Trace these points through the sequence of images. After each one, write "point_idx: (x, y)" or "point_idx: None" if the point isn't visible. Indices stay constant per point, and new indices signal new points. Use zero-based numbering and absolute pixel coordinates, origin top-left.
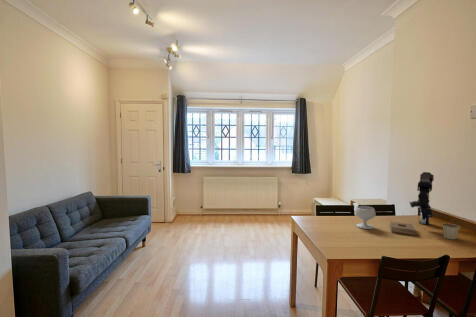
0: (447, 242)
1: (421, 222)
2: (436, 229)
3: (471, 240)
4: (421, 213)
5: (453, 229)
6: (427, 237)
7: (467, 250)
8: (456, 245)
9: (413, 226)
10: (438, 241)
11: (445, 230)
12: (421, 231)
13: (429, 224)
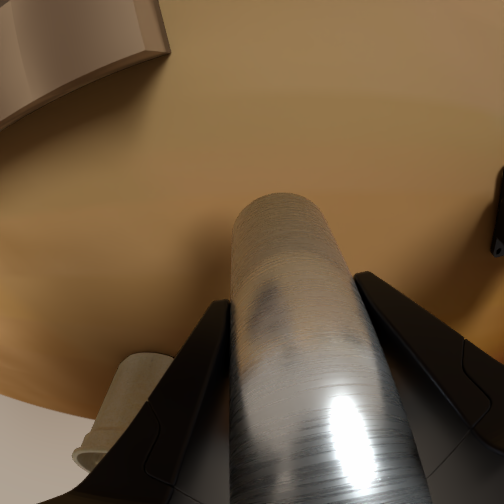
0: (38, 352)
1: (239, 224)
2: None
3: None
4: (251, 439)
5: (97, 459)
6: (8, 248)
7: (21, 395)
8: (37, 377)
9: (10, 114)
10: (3, 312)
11: (98, 414)
12: (160, 175)
13: (493, 249)
